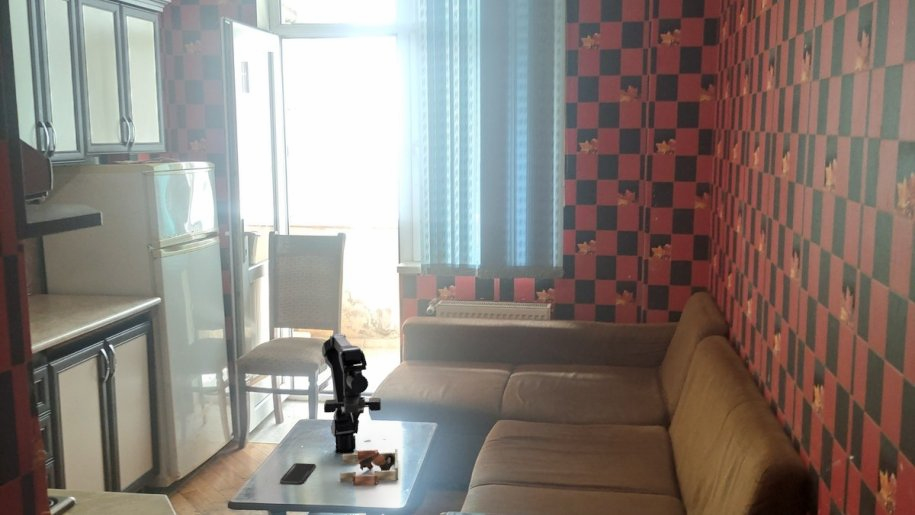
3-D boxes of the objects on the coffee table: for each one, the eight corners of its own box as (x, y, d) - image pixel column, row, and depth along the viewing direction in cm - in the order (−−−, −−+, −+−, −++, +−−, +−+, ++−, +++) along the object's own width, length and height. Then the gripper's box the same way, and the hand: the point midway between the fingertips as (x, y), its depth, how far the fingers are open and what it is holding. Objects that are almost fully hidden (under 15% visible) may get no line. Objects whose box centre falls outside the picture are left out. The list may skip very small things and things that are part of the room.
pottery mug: (372, 484, 263) (361, 461, 264) (363, 487, 271) (352, 464, 272) (404, 467, 269) (392, 444, 270) (394, 470, 277) (383, 448, 278)
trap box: (339, 486, 260) (339, 474, 260) (343, 459, 282) (343, 448, 282) (398, 483, 262) (397, 471, 261) (397, 457, 284) (397, 446, 283)
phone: (279, 481, 263) (294, 462, 278) (279, 484, 264) (294, 466, 278) (302, 482, 262) (317, 463, 277) (303, 485, 263) (317, 467, 277)
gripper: (321, 393, 266) (323, 439, 268) (379, 390, 268) (381, 436, 270) (324, 383, 277) (326, 427, 279) (380, 381, 279) (381, 425, 281)
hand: (353, 429), depth 277 cm, fingers closed
